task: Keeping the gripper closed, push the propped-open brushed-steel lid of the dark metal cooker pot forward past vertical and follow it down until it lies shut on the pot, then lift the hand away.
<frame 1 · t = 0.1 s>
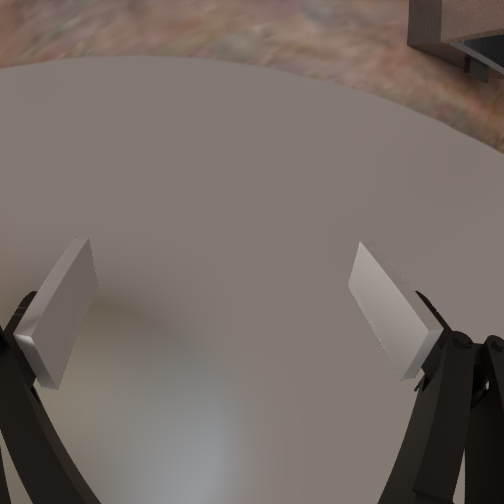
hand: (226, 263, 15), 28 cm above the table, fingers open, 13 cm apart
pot: (447, 19, 31), on the table
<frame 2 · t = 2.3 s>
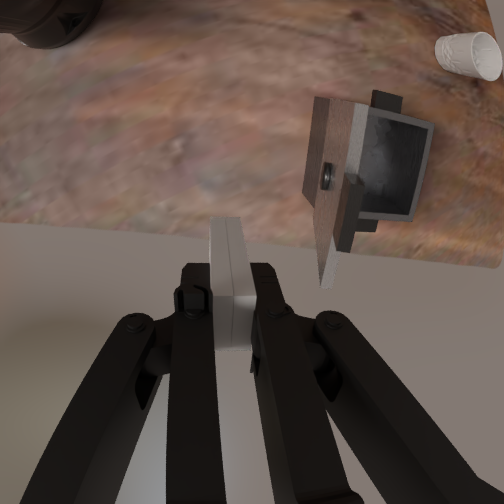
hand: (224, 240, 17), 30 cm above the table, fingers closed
lid: (331, 179, 29), point 18 cm above the table, hinge at 104.0°, touching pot
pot: (354, 151, 45), on the table
white cup: (447, 53, 38), on the table
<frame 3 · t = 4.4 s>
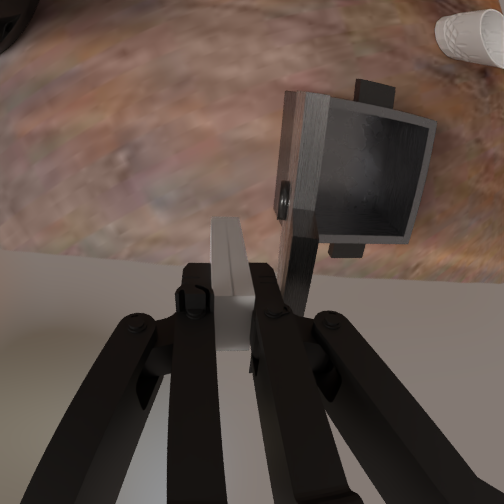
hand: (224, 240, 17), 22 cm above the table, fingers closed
lid: (290, 206, 21), point 18 cm above the table, hinge at 103.3°, touching gripper, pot
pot: (337, 156, 38), on the table
white cup: (450, 37, 30), on the table
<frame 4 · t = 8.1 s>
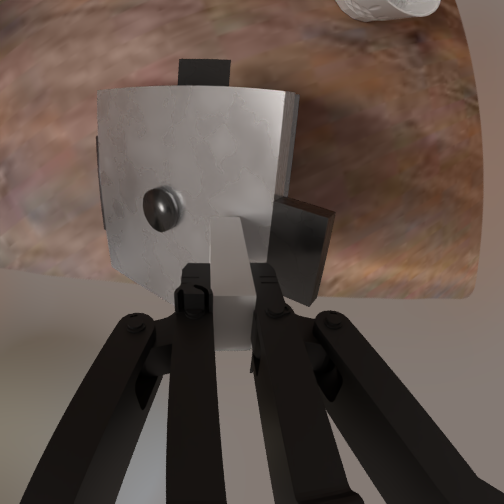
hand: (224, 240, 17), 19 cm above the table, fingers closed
lid: (177, 211, 19), point 16 cm above the table, hinge at 40.4°, touching gripper
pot: (201, 155, 33), on the table
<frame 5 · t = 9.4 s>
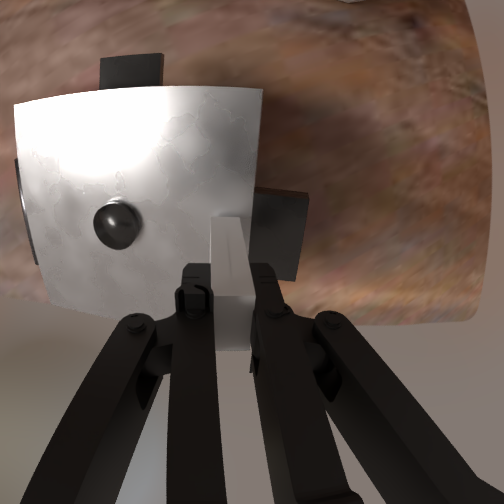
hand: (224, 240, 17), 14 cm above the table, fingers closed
lid: (135, 223, 17), point 12 cm above the table, hinge at 11.8°, touching gripper
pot: (151, 169, 27), on the table
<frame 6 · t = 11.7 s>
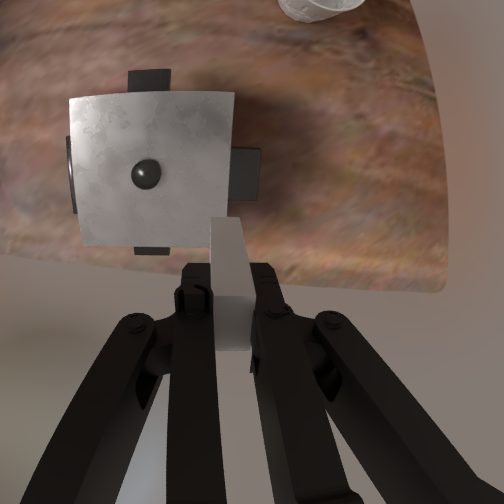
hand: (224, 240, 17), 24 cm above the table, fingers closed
lid: (157, 173, 28), point 10 cm above the table, hinge at -0.1°
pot: (160, 151, 36), on the table
white cup: (303, 0, 29), on the table
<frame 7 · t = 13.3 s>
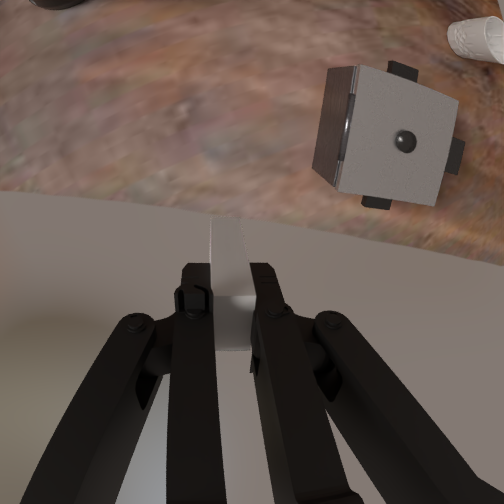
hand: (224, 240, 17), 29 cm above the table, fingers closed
lid: (410, 142, 34), point 10 cm above the table, hinge at -0.1°
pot: (366, 127, 42), on the table
white cup: (459, 40, 35), on the table
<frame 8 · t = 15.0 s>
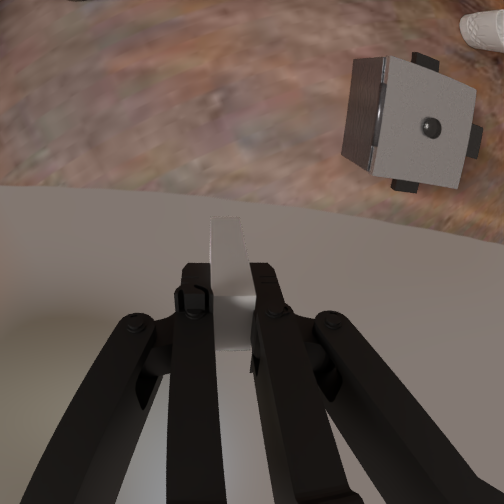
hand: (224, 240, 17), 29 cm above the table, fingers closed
lid: (435, 129, 34), point 10 cm above the table, hinge at -0.1°
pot: (390, 115, 42), on the table
white cup: (470, 31, 34), on the table
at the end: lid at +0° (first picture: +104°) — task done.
